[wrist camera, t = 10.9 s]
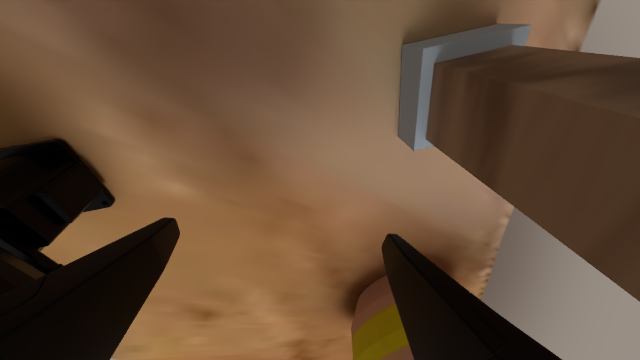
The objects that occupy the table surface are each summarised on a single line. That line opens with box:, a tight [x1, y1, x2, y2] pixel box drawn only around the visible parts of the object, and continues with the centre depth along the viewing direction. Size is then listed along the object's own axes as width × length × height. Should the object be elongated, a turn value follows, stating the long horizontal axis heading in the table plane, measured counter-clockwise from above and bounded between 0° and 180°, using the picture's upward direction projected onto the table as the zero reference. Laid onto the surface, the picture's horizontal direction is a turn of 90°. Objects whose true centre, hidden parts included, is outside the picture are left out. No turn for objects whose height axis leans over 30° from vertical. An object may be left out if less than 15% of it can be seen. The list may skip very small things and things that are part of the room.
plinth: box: [398, 24, 531, 151], centre depth 19 cm, size 8×8×3 cm
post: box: [426, 45, 640, 301], centre depth 12 cm, size 6×6×15 cm
